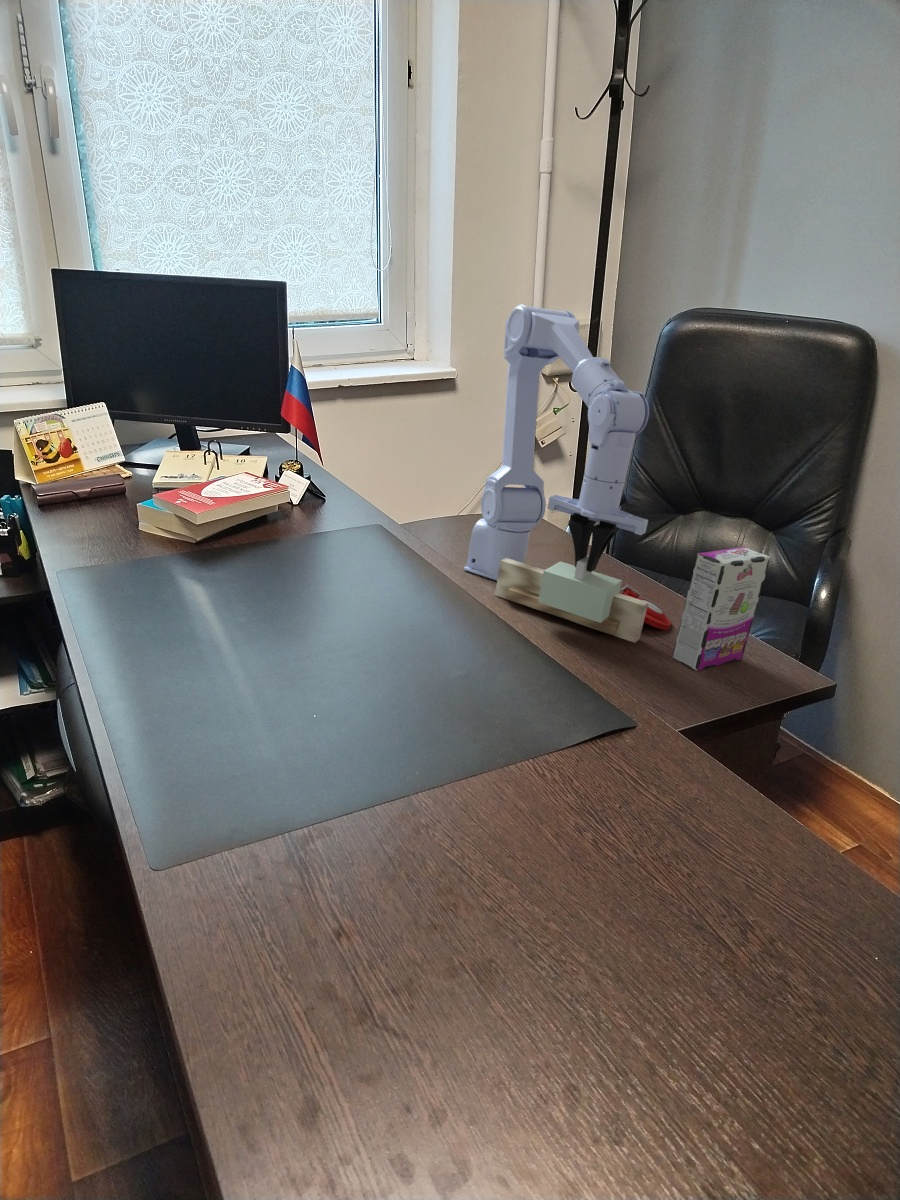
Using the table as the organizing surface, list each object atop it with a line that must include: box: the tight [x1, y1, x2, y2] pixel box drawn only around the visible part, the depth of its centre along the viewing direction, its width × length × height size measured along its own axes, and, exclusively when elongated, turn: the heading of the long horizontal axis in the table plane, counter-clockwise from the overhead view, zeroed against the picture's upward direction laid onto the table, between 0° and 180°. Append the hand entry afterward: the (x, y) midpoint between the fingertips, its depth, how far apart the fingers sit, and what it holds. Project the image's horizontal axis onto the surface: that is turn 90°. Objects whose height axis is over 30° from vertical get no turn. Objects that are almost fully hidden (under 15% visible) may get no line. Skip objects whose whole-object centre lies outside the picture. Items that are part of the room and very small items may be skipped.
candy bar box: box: [671, 546, 772, 672], centre depth 120 cm, size 11×5×16 cm, turn 126°
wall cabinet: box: [538, 554, 623, 623], centre depth 123 cm, size 10×6×8 cm, turn 59°
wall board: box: [494, 558, 648, 644], centre depth 129 cm, size 24×4×6 cm, turn 59°
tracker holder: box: [620, 584, 672, 631], centre depth 134 cm, size 12×4×10 cm
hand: (585, 568), depth 122 cm, fingers closed on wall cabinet
